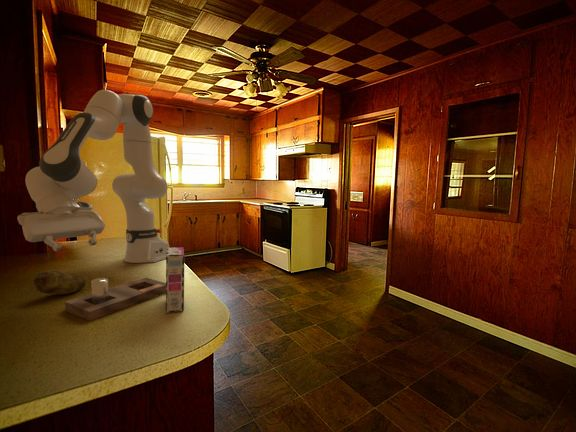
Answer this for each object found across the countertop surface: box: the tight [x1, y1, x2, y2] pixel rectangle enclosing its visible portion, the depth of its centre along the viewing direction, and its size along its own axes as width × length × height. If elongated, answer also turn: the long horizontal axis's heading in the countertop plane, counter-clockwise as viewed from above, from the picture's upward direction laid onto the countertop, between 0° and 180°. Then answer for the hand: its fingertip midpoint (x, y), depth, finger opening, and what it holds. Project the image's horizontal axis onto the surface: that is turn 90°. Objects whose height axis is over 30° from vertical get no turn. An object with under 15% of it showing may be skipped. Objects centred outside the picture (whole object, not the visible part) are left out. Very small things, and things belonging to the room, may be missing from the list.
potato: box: [32, 269, 86, 296], centre depth 92 cm, size 8×13×8 cm, turn 128°
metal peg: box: [90, 277, 109, 305], centre depth 83 cm, size 4×4×8 cm
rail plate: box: [64, 277, 166, 322], centre depth 89 cm, size 25×12×3 cm, turn 152°
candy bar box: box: [165, 246, 185, 313], centre depth 86 cm, size 11×5×16 cm, turn 21°
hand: (77, 246), depth 87 cm, fingers open, 8 cm apart
